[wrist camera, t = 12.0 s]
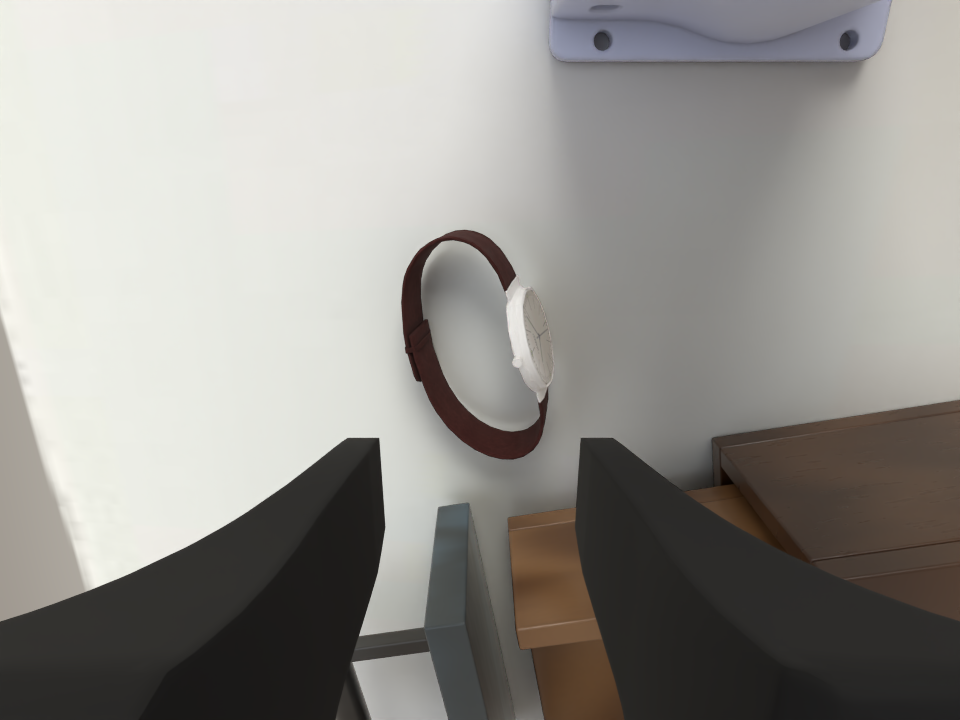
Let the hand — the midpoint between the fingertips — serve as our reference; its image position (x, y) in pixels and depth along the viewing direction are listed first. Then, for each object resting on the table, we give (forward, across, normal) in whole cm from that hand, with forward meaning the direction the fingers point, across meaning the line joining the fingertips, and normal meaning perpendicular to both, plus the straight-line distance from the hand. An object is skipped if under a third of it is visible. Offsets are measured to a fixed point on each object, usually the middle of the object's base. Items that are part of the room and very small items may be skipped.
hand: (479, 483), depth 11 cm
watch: (+10, 0, 0) cm, 10 cm away
